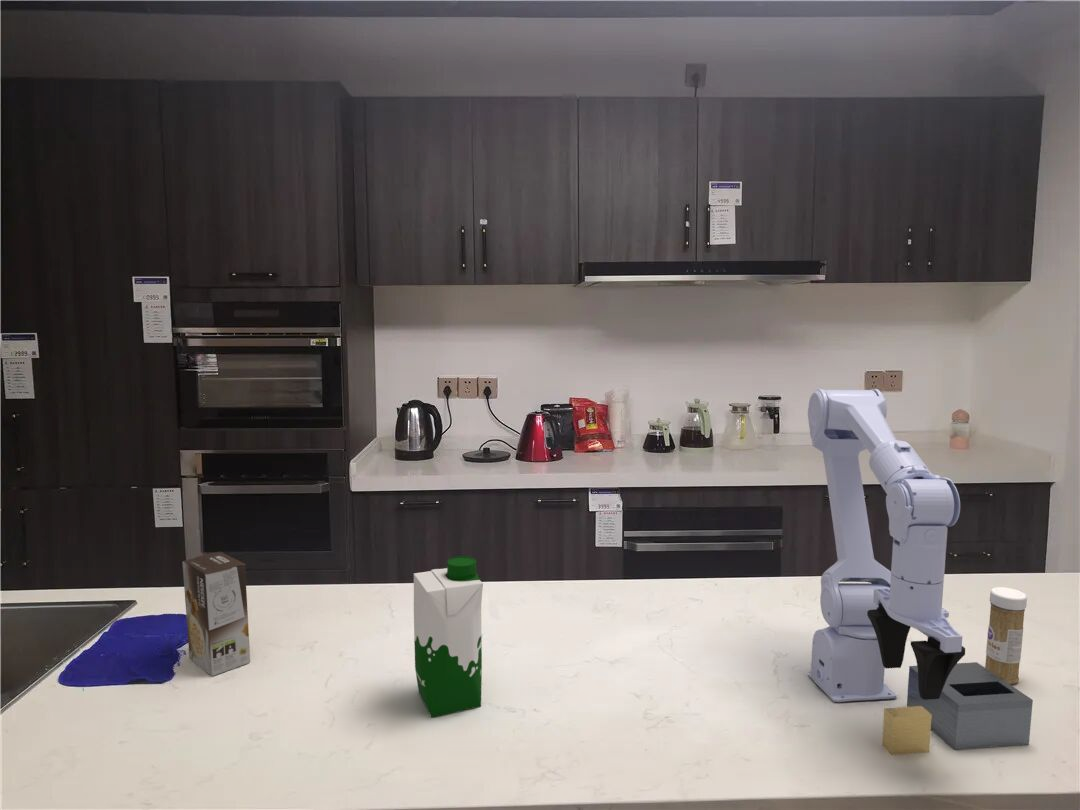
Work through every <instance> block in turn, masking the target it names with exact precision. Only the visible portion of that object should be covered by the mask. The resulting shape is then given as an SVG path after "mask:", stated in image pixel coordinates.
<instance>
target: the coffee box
mask: <svg viewBox="0 0 1080 810" xmlns="http://www.w3.org/2000/svg"><path fill="white" fill-rule="evenodd" d="M181 562H182V572H183V573H182V575H183V587H184V590H183V591H184V600H185V601H184V602H185V612H186V613H185V615H186V628H187V629H186V630H187V643H188V645H187V646H188V658H189V660H191V661H192V662H194V664H196V665H198V667H200V668H201V669H202V670H203V671H205V672H206V673H207V674H208V675H210V676H211V677H214V676H217V675H220V674H222V673H225V672H227V671H231V670H233V669H236V668H239V667H242V666H246V665H247V664H250V662H251V652H250V651H251V650H250V647H251V646H250V633H249V615H248V614H249V613H248V611H249V610H248V597H247V577H246V576H247V575H246V563H244V562H242V561H240V560H238V559H236V558H234V557H232V556H230V555H228V554H226V553H224V552H222V551H216V552H213V553H208V554H203V555H200V556H199V555H198V556H196V557H194V558H189V559H185V560H183V561H181Z"/></svg>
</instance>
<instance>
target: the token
mask: <svg viewBox="0 0 1080 810" xmlns="http://www.w3.org/2000/svg"><path fill="white" fill-rule="evenodd" d="M931 718H932V714H930V713H929V712H928V711H927V710H926V709H925V708H923V707H922V706H913V707H907V706H900V707H886V708H885V707H884V709H883V721H882V722H883V724H882V725H883V727H882V740H881V741H882V742H881V746H882V747H883V748H884V749H885V750H886V751H887V752H888V754H890V755H892V756H893V755H895V756H896V755H905V754H907V755H908V754H922V753H930V743H931V730H932V729H931Z"/></svg>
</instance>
